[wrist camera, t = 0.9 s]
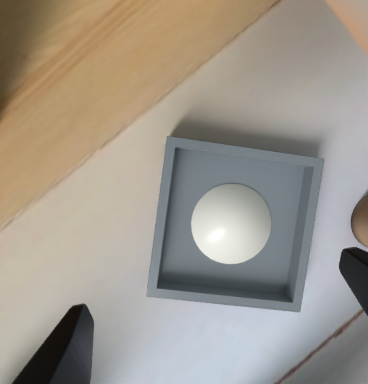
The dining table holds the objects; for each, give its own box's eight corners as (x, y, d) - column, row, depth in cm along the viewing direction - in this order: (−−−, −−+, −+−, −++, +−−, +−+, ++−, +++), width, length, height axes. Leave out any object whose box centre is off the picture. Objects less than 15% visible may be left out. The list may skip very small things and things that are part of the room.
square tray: (287, 299, 26) (300, 312, 23) (148, 285, 25) (146, 296, 23) (309, 160, 25) (324, 158, 23) (167, 140, 24) (167, 136, 22)
